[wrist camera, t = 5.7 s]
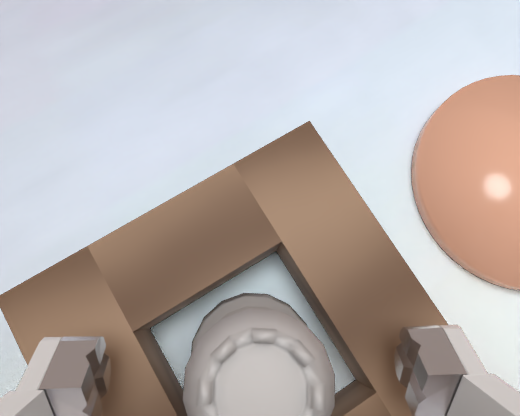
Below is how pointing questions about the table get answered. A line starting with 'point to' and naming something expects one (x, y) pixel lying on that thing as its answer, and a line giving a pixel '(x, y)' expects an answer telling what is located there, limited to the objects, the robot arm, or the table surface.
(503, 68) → the table surface
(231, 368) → the rook chess piece
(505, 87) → the coaster
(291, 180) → the socket block
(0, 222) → the table surface
